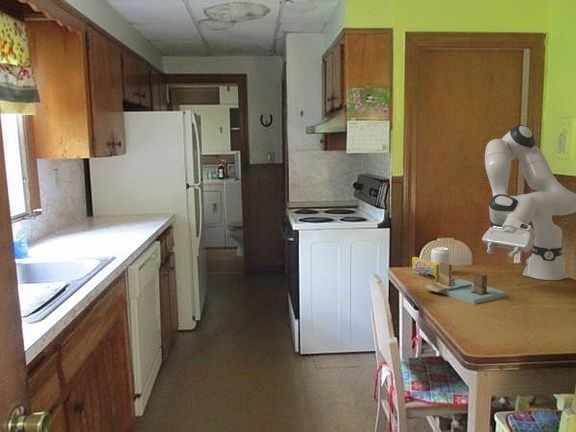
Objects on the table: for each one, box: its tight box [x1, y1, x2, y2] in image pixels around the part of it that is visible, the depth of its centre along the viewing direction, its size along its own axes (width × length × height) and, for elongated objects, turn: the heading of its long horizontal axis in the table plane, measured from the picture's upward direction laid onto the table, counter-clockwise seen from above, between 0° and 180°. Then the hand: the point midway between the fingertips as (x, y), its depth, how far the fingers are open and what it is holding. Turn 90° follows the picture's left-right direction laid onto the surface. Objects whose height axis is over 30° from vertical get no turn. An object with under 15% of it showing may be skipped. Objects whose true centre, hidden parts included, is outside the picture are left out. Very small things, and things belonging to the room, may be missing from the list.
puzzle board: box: [429, 278, 507, 305], centre depth 207 cm, size 18×23×3 cm
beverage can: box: [430, 246, 450, 276], centre depth 239 cm, size 8×8×12 cm
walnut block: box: [473, 272, 488, 295], centre depth 201 cm, size 4×4×9 cm
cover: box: [422, 262, 454, 293], centre depth 207 cm, size 9×8×10 cm
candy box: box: [411, 256, 440, 283], centre depth 233 cm, size 16×2×8 cm, turn 27°
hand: (499, 255), depth 206 cm, fingers open, 8 cm apart
